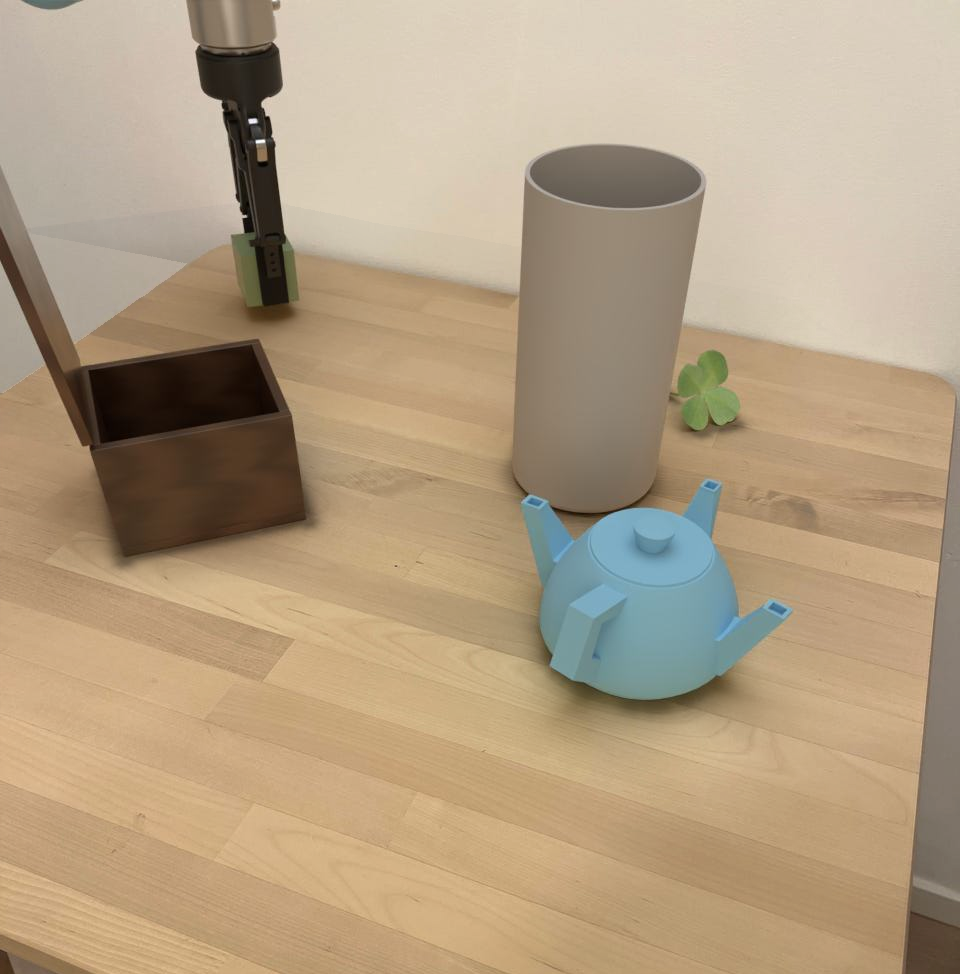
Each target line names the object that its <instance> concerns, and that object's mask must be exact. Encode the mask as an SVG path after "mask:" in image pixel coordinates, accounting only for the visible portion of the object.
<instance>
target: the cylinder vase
mask: <svg viewBox="0 0 960 974" xmlns="http://www.w3.org/2000/svg"><path fill="white" fill-rule="evenodd" d="M706 189H707V177H706V175H705V173H704V171H702V169H700V167H698V166H697V165H696V164H695V163H693V162H691V161H689V160H688V159H686V158H683V157H681V156H679V155H676V154H673V153H670V152H667V151H664V150H660V149H656V148H652V147H647V146H641V145H634V144H633V145H632V144H626V143H625V144H623V143H583V144H573V145H567V146H563V147H558V148H554V149H551V150H548V151H546V152H545V151H544V152H543V153H540V154H539V155H536V156H535V157H533V158H532V159H531V160H530V161H529V162H528V163H527V164H526V167H525V169H524V184H523V204H522V205H523V209H522V228H521V250H520V251H521V252H520V271H519V272H520V273H519V292H518V293H519V295H518V297H519V299H518V314H517V316H518V317H517V338H516V340H517V342H516V359H515V360H516V362H515V381H514V382H515V385H514V403H513V404H514V406H513V407H514V408H513V426H512V427H513V428H512V429H513V430H512V432H513V433H512V447H511V448H512V449H511V451H512V452H511V468H512V473H513V476H514V479H515V480H516V481H517V483H518V484H519V486H520V487H521V488H522V489H523V490H524V491H525V492H526V493H527V494H528V495H529V494H531V495H534V496H536V497H539V498H542V499H545V500H547V501H549V503H548V504H549V506H550V507H551V508H555V509H558V510H562V511H567V512H571V513H572V512H573V513H581V514H599V513H606V512H607V513H608V512H613V511H617V510H620V509H623V508H626V507H628V506H630V505H632V504H634V503H635V502H638V501H639V500H640V499H642V497H644V496H645V495H646V494H647V493H648V492H649V491H650V489H651V488H652V486H653V484H654V482H655V479H656V475H657V469H658V463H659V458H660V454H661V453H660V452H661V446H662V440H663V435H664V430H665V423H666V417H667V411H668V406H669V400H670V396H671V394H670V392H671V390H672V384H673V378H674V372H675V366H676V359H677V354H678V349H679V343H680V336H681V332H682V325H683V319H684V316H685V315H684V314H685V308H686V302H687V297H688V296H687V295H688V291H689V285H690V280H691V274H692V269H693V264H694V257H695V252H696V247H697V240H698V233H699V228H700V221H701V216H702V210H703V205H704V199H705V194H706Z"/></svg>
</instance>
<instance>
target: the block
mask: <svg viewBox="0 0 960 974" xmlns="http://www.w3.org/2000/svg"><path fill="white" fill-rule="evenodd" d="M230 239H231V247H232V252H233V253H232V254H233V259H234V267H235V273H236V279H237V285H238V288H239V290H240V292H241V295H242V297H243V299H244V301H245V304H246V305H247V306H246V307H247V308H252V307H260V306H261V307H262V306H263V304H262V297H261V290H260V283H259V276H258V269H257V262H256V255H255V248H254V247H250V245H249V241H248V240H253V239H255V232H251V233H244V232H243V233H235V234H234V233H233V234H230ZM282 247H283V255H284V263H285V272H286V280H287V288H288V296H289V303H290V302H297V301H300V294H299V293H300V292H299V284H298V276H297V266H296V258H295V257H296V256H295V250H294V248H293V246H292V244H291V241H289V239H288V237H287V236H286V243H285V244H282Z"/></svg>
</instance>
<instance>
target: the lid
mask: <svg viewBox="0 0 960 974" xmlns="http://www.w3.org/2000/svg"><path fill="white" fill-rule="evenodd" d="M38 256H39V255H38V254H37V252H36V249H35V246H34V244H33V242H32V240H31V236H30V234H29V233H28V229H27V227H26V225H25V223H24V220H23V217H22V214H21V213H20V211H19V208H18V206H17V203H16V201H15V198H14V196H13V193H12V191H11V188H10V186H9V184H8V181H7V179H6V176H5V173H4V172H3V169H2V166H1V165H0V264H1V266H2V269H3V271H4V273H5V274H6V277H7V279H8V282H9V284H10V286H11V289H12V291H13V293H14V296H15V298H16V300H17V302H18V304H19V307H20V310H21V311H22V313H23V315H24V318H25V321H26V323H27V325H28V328H29V330H30V332H31V334H32V337H33V338H34V341H35V343H36V345H37V348H38V350H39V352H40V354H41V357H42V359H43V361H44V364H45V365H46V369H47V371H48V373H49V375H50V377H51V379H52V381H53V384H54V386H55V388H56V390H57V393H58V396H59V397H60V399H61V402H62V404H63V407H64V409H65V411H66V413H67V415H68V417H69V419H70V422H71V425H72V427H73V429H74V431H75V434H76V436H77V439H78V440H79V443H80V445H81V446H82V447H83V448H85V447H87V446H89V445H92V444H93V438H92V431H91V425H90V419H89V413H88V406H87V400H86V394H85V388H84V381H83V375H82V369H81V366H82V363H81V359H80V356H79V353H78V350H77V349H76V346H75V343H74V341H73V339H72V337H71V335H70V332H69V329H68V327H67V325H66V322H65V320H64V319H65V318H64V317H63V315H62V312H61V310H60V308H59V304H58V302H57V300H56V298H55V295H54V293H53V290H52V288H51V286H50V285H51V284H50V283H49V281H48V278H47V276H46V273H45V271H44V269H43V265H42V264H41V262H40V259H39V257H38Z"/></svg>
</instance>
